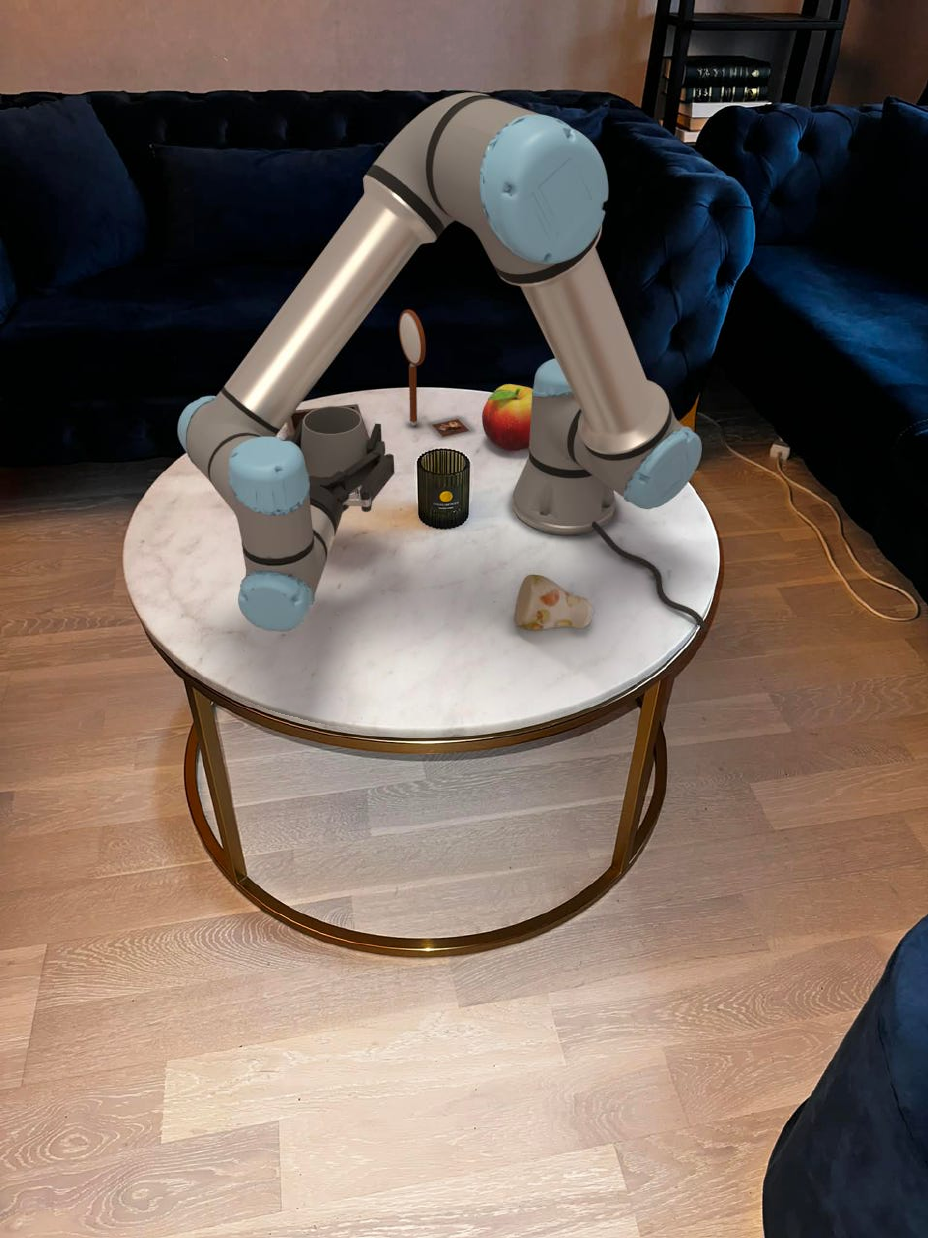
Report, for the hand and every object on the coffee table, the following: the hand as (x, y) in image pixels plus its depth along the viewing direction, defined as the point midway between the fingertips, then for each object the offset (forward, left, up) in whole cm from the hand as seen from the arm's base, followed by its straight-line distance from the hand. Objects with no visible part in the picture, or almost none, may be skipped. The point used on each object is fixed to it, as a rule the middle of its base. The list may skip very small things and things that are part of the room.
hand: (341, 430), depth 126 cm
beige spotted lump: (-26, -22, -16) cm, 38 cm away
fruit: (+19, -30, -16) cm, 39 cm away
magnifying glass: (+28, -15, -16) cm, 36 cm away
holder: (+25, 0, -16) cm, 30 cm away
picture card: (+26, -21, -17) cm, 37 cm away
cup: (-4, +2, -6) cm, 8 cm away
